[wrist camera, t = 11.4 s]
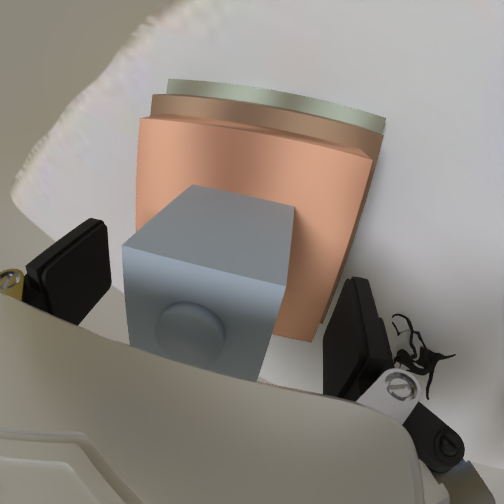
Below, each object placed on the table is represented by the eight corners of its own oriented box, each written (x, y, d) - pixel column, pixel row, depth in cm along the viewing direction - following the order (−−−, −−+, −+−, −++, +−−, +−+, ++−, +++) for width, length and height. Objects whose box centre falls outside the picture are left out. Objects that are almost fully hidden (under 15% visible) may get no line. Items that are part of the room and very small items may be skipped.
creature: (355, 362, 29) (425, 374, 27) (347, 402, 25) (425, 415, 22) (373, 302, 26) (453, 316, 23) (368, 343, 21) (462, 358, 18)
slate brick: (294, 206, 13) (284, 300, 7) (272, 291, 15) (250, 403, 9) (192, 184, 13) (110, 255, 7) (184, 270, 15) (124, 366, 10)
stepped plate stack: (381, 117, 18) (427, 129, 10) (329, 293, 24) (333, 370, 17) (175, 79, 18) (108, 75, 11) (161, 255, 25) (113, 315, 18)
